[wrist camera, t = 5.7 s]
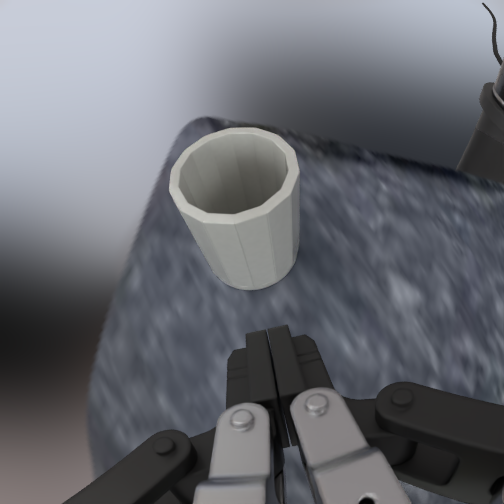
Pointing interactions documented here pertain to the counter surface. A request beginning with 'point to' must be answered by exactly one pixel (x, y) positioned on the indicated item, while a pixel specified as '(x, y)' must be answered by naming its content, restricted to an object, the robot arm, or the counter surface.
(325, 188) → the counter surface
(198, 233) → the pot
